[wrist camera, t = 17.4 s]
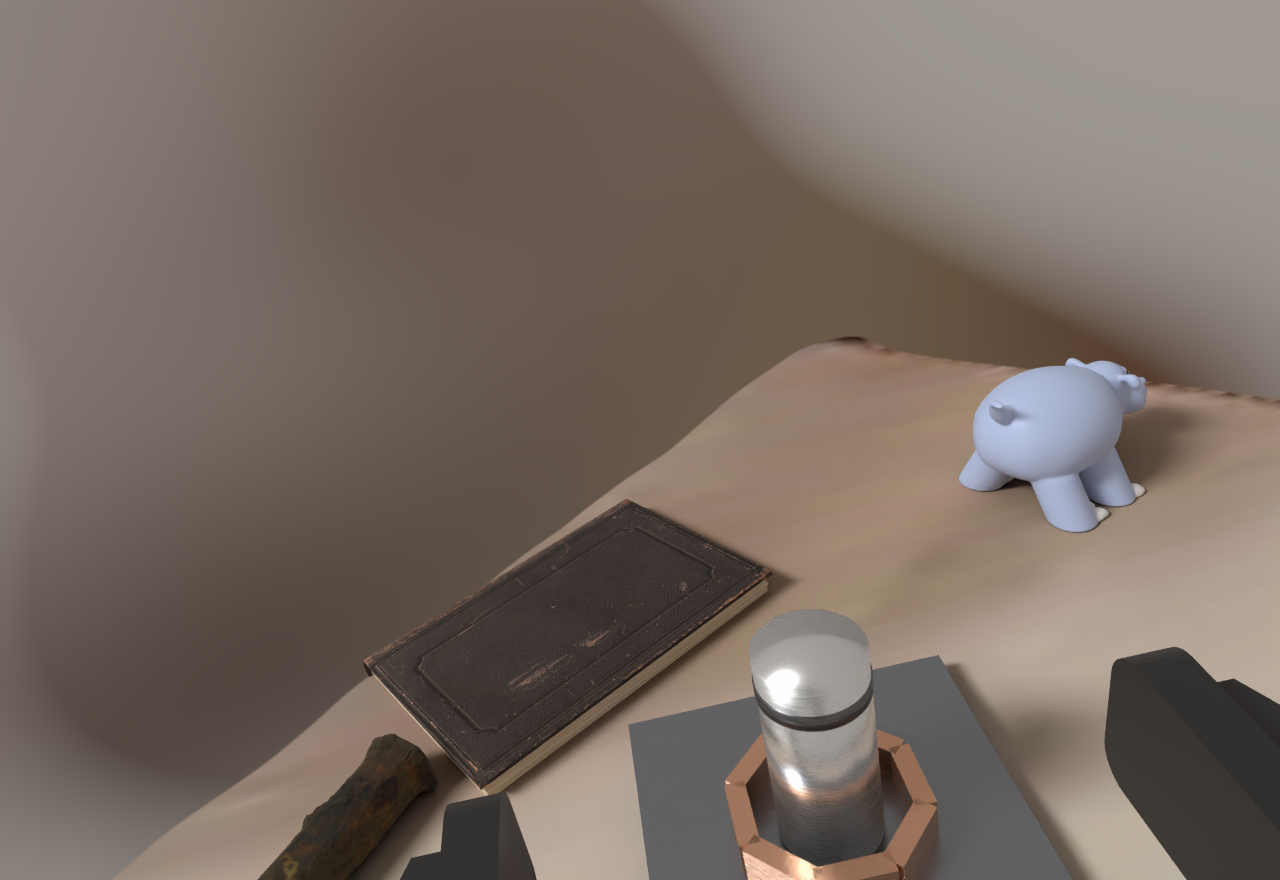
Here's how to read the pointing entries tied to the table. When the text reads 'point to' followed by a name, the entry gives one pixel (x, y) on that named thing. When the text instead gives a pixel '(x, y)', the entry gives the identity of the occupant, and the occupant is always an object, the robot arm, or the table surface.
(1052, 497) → the hippopotamus toy
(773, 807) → the grey square base plate
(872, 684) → the steel piston
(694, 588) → the hardcover book
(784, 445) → the table surface
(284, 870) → the hand tool
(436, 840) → the table surface
